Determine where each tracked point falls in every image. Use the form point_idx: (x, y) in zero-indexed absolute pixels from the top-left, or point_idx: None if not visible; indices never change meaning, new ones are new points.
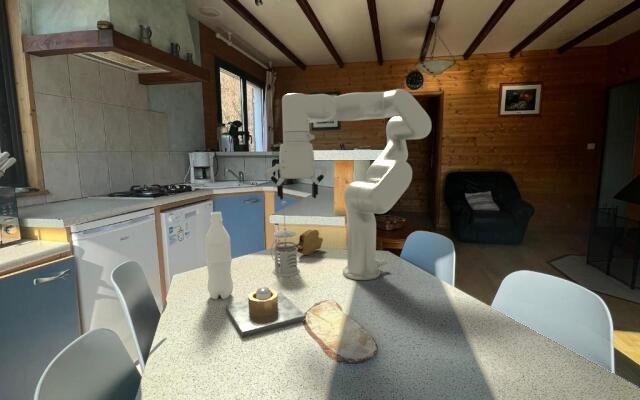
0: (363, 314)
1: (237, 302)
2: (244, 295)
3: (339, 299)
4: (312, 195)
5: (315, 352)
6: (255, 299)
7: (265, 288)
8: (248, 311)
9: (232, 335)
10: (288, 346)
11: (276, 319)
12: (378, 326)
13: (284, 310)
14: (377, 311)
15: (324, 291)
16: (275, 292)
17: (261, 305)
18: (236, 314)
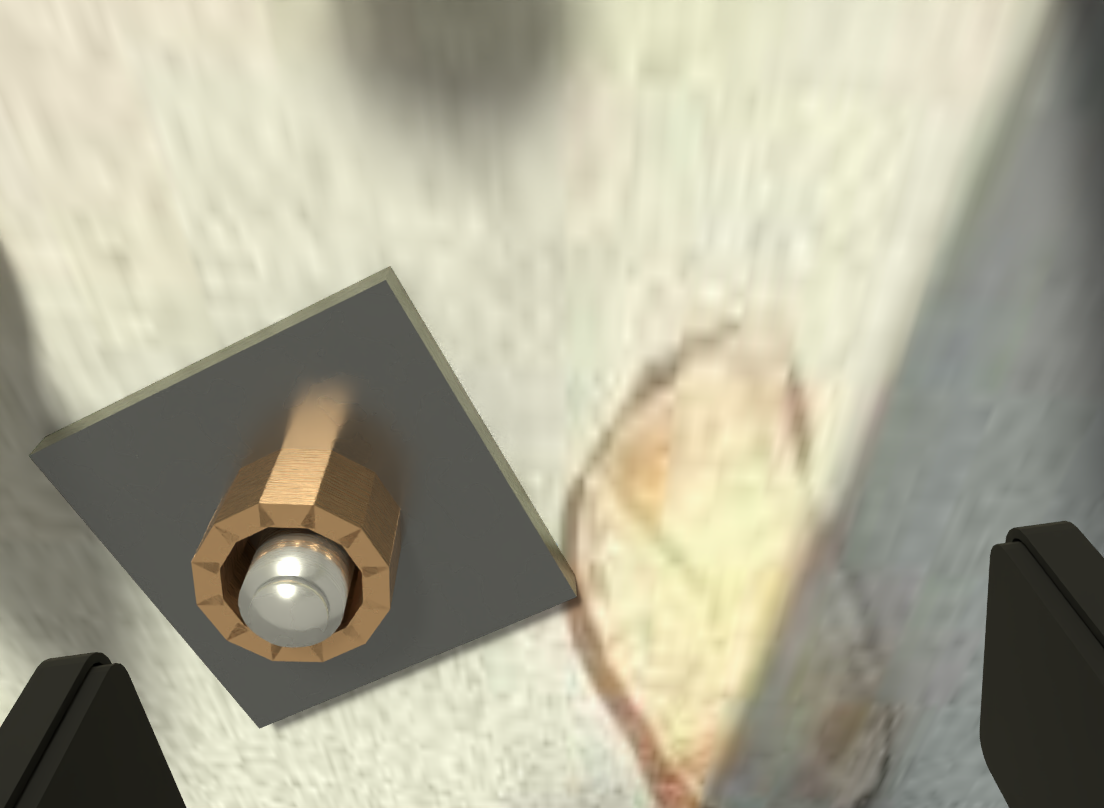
0: (920, 521)
1: (97, 422)
2: (79, 205)
3: (824, 320)
4: (1004, 622)
5: (615, 798)
6: (258, 639)
7: (300, 604)
8: None
9: (206, 682)
10: (497, 762)
11: (413, 631)
12: (954, 636)
13: (446, 540)
14: (1017, 492)
15: (735, 169)
16: (372, 554)
17: None
18: (158, 573)
